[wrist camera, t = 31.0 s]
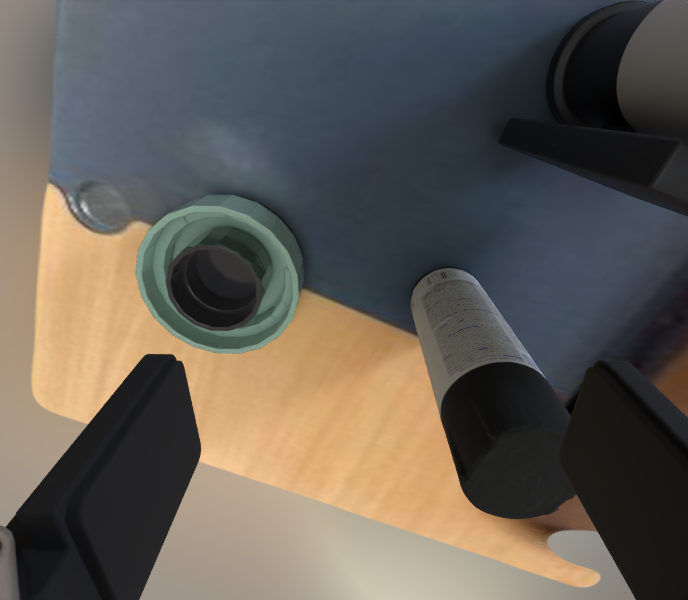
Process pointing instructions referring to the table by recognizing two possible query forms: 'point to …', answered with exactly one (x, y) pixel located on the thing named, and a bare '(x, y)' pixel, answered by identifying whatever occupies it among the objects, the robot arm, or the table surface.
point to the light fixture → (619, 103)
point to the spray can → (490, 400)
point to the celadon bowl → (185, 228)
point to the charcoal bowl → (219, 279)
